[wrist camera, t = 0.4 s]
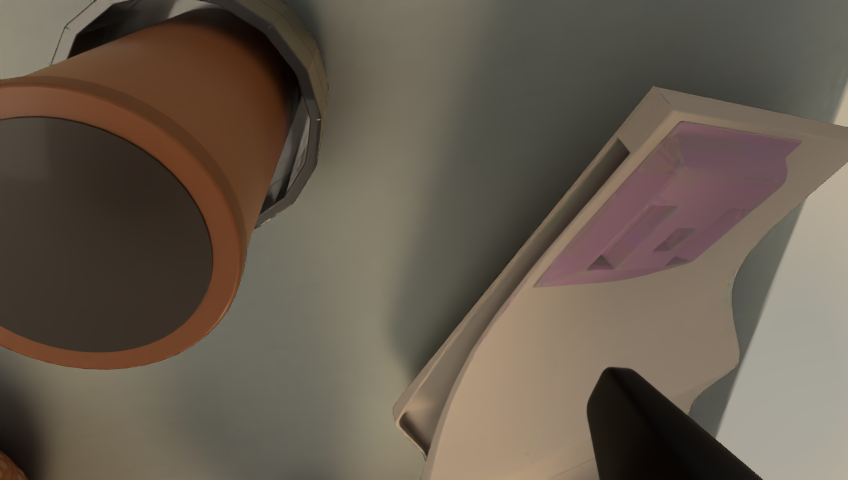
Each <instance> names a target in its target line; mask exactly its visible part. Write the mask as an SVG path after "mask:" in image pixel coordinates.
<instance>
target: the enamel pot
mask: <svg viewBox="0 0 848 480" xmlns="http://www.w3.org/2000/svg"><path fill="white" fill-rule="evenodd" d="M203 8H216V9H224V10H228V11H229V12H231V13H233V14H234V15H236V16H237V17H239V18H241V19H242V20H244V21H245V22H247V23H248V24H250V25H252V26H253V27H255V28H256V29H258V30H260V31H261V32H263V33H264V34H265V35H266V36H267V37H268V39H269V40H270V41H271V42H272V44H273V45H274V46H275V48H276V49H277V50H278V52H279V53H280V54H281V55H282V57H283V58H284V59H285V61H286V62H287V63H288V64H289V66H290V67H291V68H292V70H293V71H294V72H295V74H296V78H297V83H298V105H297V111H296V114H295V117H294V120H293V123H292V126H291V128H290V131H289V134H288V137H287V139H286V142H285V145H284V148H283V150H282V153H281V156H280V159H279V161H278V164H277V167H276V170H275V172H274V175H273V178H272V181H271V183H270V186H269V189H268V192H267V194H266V197H265V200H264V202H263V205H262V208H261V211H260V213H259V216H258V219H257V222H256V224H255V227H254V229H255V228H258V227H260V226H262V225H263V224H264V223H266V222H267V221H269V220H270V219H272V218H273V217H275V216H276V215H278V214H279V213H280V212H282V211H283V210H285V209H286V208H288V207H289V206H291V205H292V204H293V203H294V202H295V201H296V199H297V197H298V196H299V194H300V192H301V191H302V189H303V188H304V186H305V184H306V183H307V181H308V179H309V178H310V176H311V174H312V173H313V171H314V169H315V168H316V165H317V161H318V156H319V150H320V145H321V139H322V134H323V128H324V123H325V114H326V106H327V98H328V90H329V85H328V81H327V75H326V70H325V66H324V62H323V59H322V56H321V53H320V50H319V48H318V46H317V44H316V42H315V40H314V38H313V36H312V35H311V33H310V31H309V30H308V28H307V27H306V25H305V24H304V23H303V22H302V20H301V19H300V18H299V17H298V15H297V14H296V13H295V12H294V11H293V10H292V9H291V8H290V7H289V6H288V5H286V4H285V3H284V2H283V1H282V0H95V1H94V2H92V3H91V4H90V5H89V6H88V7H86V8H85V9H84V10H83V11H82V12H81V13H79V14H78V15H77V16H76V17H75V18H73V19H72V20H71V21H70V22H69V23H68V24H66V26H65V27H64V30H63V32H62V35H61V38H60V40H59V43H58V46H57V48H56V51H55V54H54V56H53V59H52V62H51V64H50V66H51V65H54V64H56V63H59V62H61V61H64V60H66V59H69V58H71V57H74V56H76V55H79V54H81V53H84V52H86V51H89V50H91V49H94V48H96V47H99V46H101V45H104V44H107V43H109V42H112V41H114V40H117V39H119V38H122V37H124V36H127V35H129V34H132V33H134V32H137V31H139V30H142V29H144V28H147V27H149V26H152V25H154V24H157V23H159V22H162V21H164V20H167V19H169V18H172V17H174V16H177V15H179V14H182V13H185V12H188V11H191V10H196V9H203Z"/></svg>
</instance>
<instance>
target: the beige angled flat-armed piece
mask: <svg viewBox="0 0 848 480" xmlns="http://www.w3.org/2000/svg"><path fill="white" fill-rule="evenodd" d="M847 162H848V127H844V126H839V125H835V124H830V123H825V122H820V121H816V120H811V119H806V118H801V117H797V116H792V115H787V114H782V113H778V112H773V111H768V110H763V109H759V108H754V107H749V106H744V105H739V104H735V103H730V102H725V101H720V100H716V99H711V98H706V97H701V96H697V95H692V94H687V93H682V92H678V91H673V90H668V89H663V88H659V87H654V86H653V87H652V88H651V90H650V91H649V92H648V93H647V94H646V96H645V97H644V98H643V99H642V101H641V102H640V103H639V104H638V105H637V107H636V108H635V109H634V110H633V112H632V113H631V114H630V115H629V116H628V118H627V119H626V120H625V121H624V123H623V124H622V125H621V126H620V128H619V129H618V130H617V131H616V132H615V134H614V135H613V136H612V137H611V139H610V140H609V141H608V142H607V143H606V145H605V146H604V147H603V148H602V150H601V151H600V152H599V153H598V154H597V156H596V157H595V158H594V159H593V161H592V162H591V163H590V164H589V165H588V167H587V168H586V169H585V170H584V172H583V173H582V174H581V175H580V177H579V178H578V179H577V180H576V181H575V183H574V184H573V185H572V186H571V188H570V189H569V190H568V191H567V192H566V194H565V195H564V196H563V197H562V199H561V200H560V201H559V202H558V203H557V205H556V206H555V207H554V208H553V210H552V211H551V212H550V213H549V214H548V216H547V217H546V218H545V219H544V221H543V222H542V223H541V224H540V225H539V227H538V228H537V229H536V230H535V232H534V233H533V234H532V235H531V237H530V238H529V239H528V240H527V241H526V243H525V244H524V245H523V246H522V248H521V249H520V250H519V251H518V252H517V254H516V255H515V256H514V257H513V259H512V260H511V261H510V262H509V263H508V265H507V266H506V267H505V268H504V270H503V271H502V272H501V273H500V274H499V276H498V277H497V278H496V279H495V281H494V282H493V283H492V284H491V285H490V287H489V288H488V289H487V290H486V292H485V293H484V294H483V295H482V297H481V298H480V299H479V300H478V301H477V303H476V304H475V305H474V306H473V308H472V309H471V310H470V311H469V313H468V314H467V315H466V316H465V317H464V319H463V320H462V321H461V322H460V324H459V325H458V326H457V327H456V329H455V330H454V331H453V332H452V333H451V335H450V336H449V337H448V338H447V340H446V341H445V342H444V343H443V345H442V346H441V347H440V348H439V349H438V351H437V352H436V353H435V354H434V356H433V357H432V358H431V359H430V361H429V362H428V363H427V364H426V366H425V367H424V368H423V369H422V370H421V372H420V373H419V374H418V375H417V377H416V378H415V379H414V380H413V382H412V383H411V384H410V385H409V386H408V388H407V389H406V390H405V392H404V393H403V394H402V395H401V397H400V398H399V399H398V401H397V402H396V403H395V405H394V406H393V416H394V420H395V423H396V426H397V428H398V429H399V430H400V431H401V432H402V433H403V434H404V435H405V436H406V437H407V438H408V439H409V440H410V441H411V442H412V443H413V444H414V445H415V446H416V447H417V448H418V449H419V450H420V451H421V452H422V454H423V456H424V459H425V462H426V463H425V466H424V470H423V473H422V476H421V479H420V480H599V475H598V470H597V465H596V460H595V455H594V450H593V445H592V440H591V435H590V430H589V425H588V420H587V413H586V408H587V402H588V399H589V397H590V395H591V393H592V391H593V389H594V387H595V385H596V383H597V381H598V379H599V377H600V375H601V373H602V372H603V370H604V369H606V368H607V367H623V368H630V369H633V370H634V371H636V372H637V373H638V374H640V375H641V376H642V377H643V378H644V379H645V380H647V381H648V382H649V383H650V384H651V385H652V386H654V387H655V388H656V389H657V390H658V391H660V392H661V393H662V394H663V395H664V396H665V397H667V398H668V399H669V400H670V401H671V402H672V403H674V404H675V405H676V406H677V407H678V408H679V409H681V410H682V411H683V412H684V413H685V414H687V415H688V413H689V409H690V406H691V405H692V403H693V402H694V400H695V399H696V398H697V397H698V396H699V395H700V394H701V393H702V392H703V391H704V390H705V389H707V388H708V387H709V386H711V385H712V384H713V383H715V382H716V381H718V380H719V379H720V378H722V377H723V376H725V375H726V374H727V373H729V372H730V371H731V370H733V369H734V368H736V366H737V365H738V362H739V359H740V350H739V345H738V340H737V335H736V330H735V325H734V319H733V311H732V286H733V283H734V280H735V277H736V274H737V271H738V270H739V268H740V266H741V265H742V263H743V262H744V260H745V258H746V257H747V255H748V254H749V253H750V251H751V250H752V249H753V248H754V247H755V246H756V245H757V244H758V242H759V241H760V240H761V239H762V238H763V237H764V236H765V235H766V233H767V232H768V231H770V230H771V229H772V228H773V227H774V226H775V225H776V224H777V223H778V222H779V221H780V220H781V219H783V218H784V217H785V216H786V215H787V214H788V213H789V212H790V211H792V210H793V209H794V208H795V207H796V206H797V205H799V204H800V203H801V202H802V201H803V200H804V199H805V198H807V197H808V196H809V195H810V194H811V193H812V192H814V191H815V190H816V189H817V188H818V187H819V186H820V185H821V184H823V183H824V182H825V181H826V180H827V179H828V178H830V177H831V176H832V175H833V174H834V173H835V172H837V171H838V170H839V169H840V168H841V167H842V166H844V165H845V164H846V163H847Z"/></svg>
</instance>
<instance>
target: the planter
mask: <svg viewBox="0 0 848 480" xmlns="http://www.w3.org/2000/svg"><path fill="white" fill-rule="evenodd" d="M0 480H29V479H28V478H27V477H26V475H25V474H24V473H23V472H22V470H21V469H20V468H19V467H18V466H17V465H16V464H15V463H14V462H13V461H12V460H11V459H10V458H9V457H8V456H7V455H6V454H4V453H3V452H2V451H1V450H0Z"/></svg>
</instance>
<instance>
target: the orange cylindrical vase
mask: <svg viewBox="0 0 848 480" xmlns="http://www.w3.org/2000/svg"><path fill="white" fill-rule="evenodd" d="M297 105H298V83H297V78H296V74H295V72H294V71H293V70H292V68H291V67H290V66H289V64H288V63H287V62H286V61H285V59H284V58H283V57H282V55H281V54H280V53H279V52H278V50H277V49H276V48H275V46H274V45H273V44H272V42H271V41H270V40H269V39H268V37H267V36H266V35H265V34H264V33H263V32H261V31H260V30H258V29H256V28H255V27H253V26H252V25H250V24H248V23H247V22H245V21H244V20H242V19H241V18H239V17H237V16H236V15H234V14H233V13H231V12H229V11H228V10H224V9H216V8H203V9H196V10H191V11H188V12H185V13H182V14H179V15H177V16H174V17H172V18H169V19H167V20H164V21H162V22H159V23H157V24H154V25H152V26H149V27H147V28H144V29H142V30H139V31H137V32H134V33H132V34H129V35H127V36H124V37H122V38H119V39H117V40H114V41H112V42H109V43H107V44H104V45H101V46H99V47H96V48H94V49H91V50H89V51H86V52H84V53H81V54H79V55H76V56H74V57H71V58H69V59H66V60H64V61H61V62H59V63H56V64H54V65H51V66H49V67H46V68H44V69H41V70H39V71H36V72H34V73H31V74H29V75H26V76H23V77H16V78H9V79H3V80H0V345H1V346H3V347H5V348H7V349H10V350H12V351H15V352H17V353H20V354H22V355H25V356H28V357H31V358H34V359H38V360H41V361H44V362H48V363H53V364H57V365H62V366H67V367H75V368H83V369H104V370H109V369H124V368H131V367H137V366H143V365H147V364H151V363H155V362H158V361H162V360H164V359H167V358H169V357H172V356H174V355H176V354H179V353H180V352H182V351H184V350H186V349H188V348H189V347H191V346H193V345H194V344H196V343H197V342H198V341H200V340H201V339H202V338H204V337H205V336H206V335H208V334H209V333H210V332H211V331H212V330H213V328H214V327H215V326H216V325H217V324H218V323H219V322H220V321H221V319H222V318H223V317H224V315H225V314H226V312H227V311H228V310H229V308H230V306H231V304H232V302H233V300H234V298H235V296H236V293H237V290H238V287H239V284H240V281H241V278H242V275H243V271H244V268H245V261H246V254H247V246H248V244H249V241H250V238H251V235H252V233H253V230H254V227H255V224H256V222H257V219H258V216H259V213H260V211H261V208H262V205H263V202H264V200H265V197H266V194H267V192H268V189H269V186H270V183H271V181H272V178H273V175H274V172H275V170H276V167H277V164H278V161H279V159H280V156H281V153H282V150H283V148H284V145H285V142H286V139H287V137H288V134H289V131H290V128H291V126H292V123H293V120H294V117H295V114H296V111H297Z"/></svg>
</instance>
